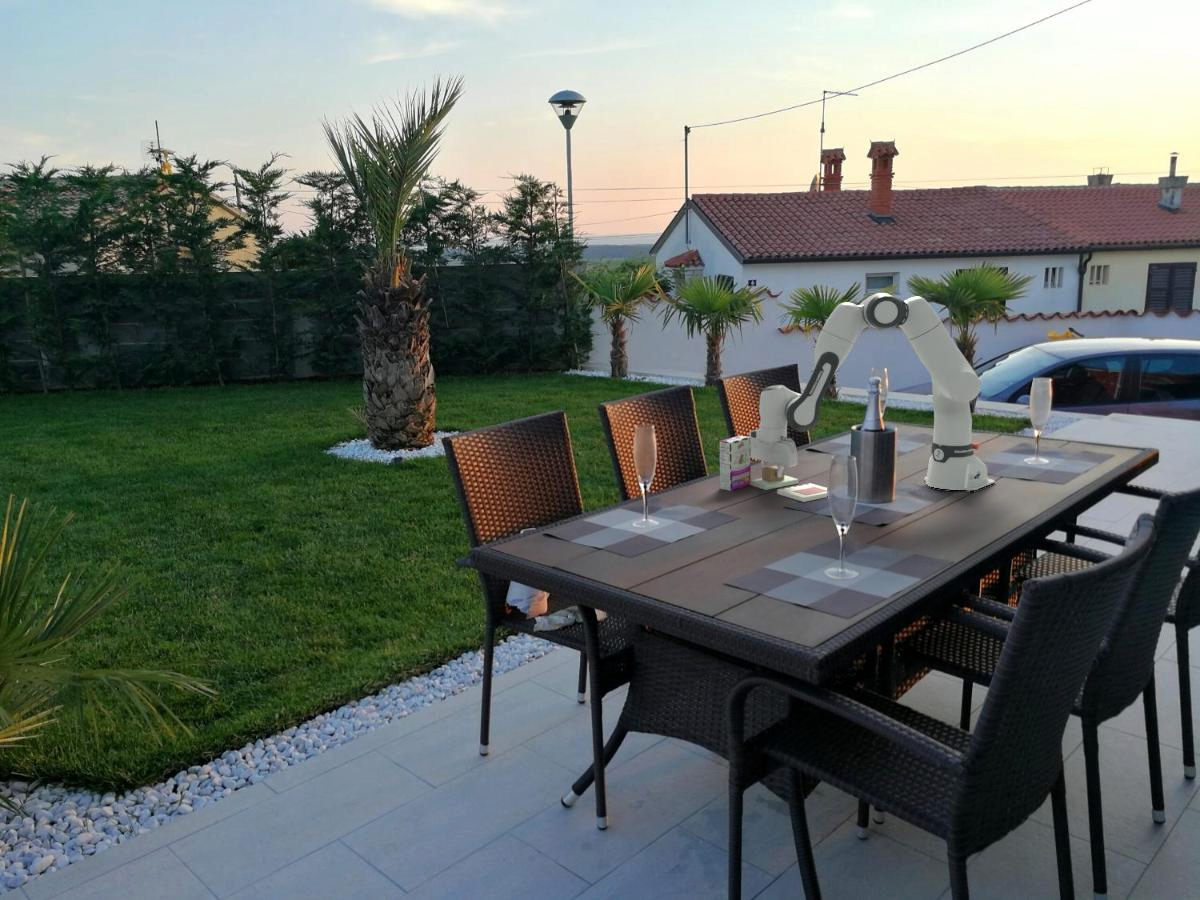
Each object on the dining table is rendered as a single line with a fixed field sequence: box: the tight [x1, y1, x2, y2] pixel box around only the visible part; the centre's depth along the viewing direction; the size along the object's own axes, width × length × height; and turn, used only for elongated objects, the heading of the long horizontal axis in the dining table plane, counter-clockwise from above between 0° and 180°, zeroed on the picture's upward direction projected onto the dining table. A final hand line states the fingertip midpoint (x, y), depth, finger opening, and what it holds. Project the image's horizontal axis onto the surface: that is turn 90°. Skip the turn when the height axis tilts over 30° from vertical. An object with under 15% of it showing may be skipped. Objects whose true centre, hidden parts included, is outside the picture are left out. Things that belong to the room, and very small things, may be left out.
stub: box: [749, 465, 800, 491], centre depth 278 cm, size 14×8×6 cm, turn 119°
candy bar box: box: [718, 435, 752, 492], centre depth 275 cm, size 11×5×16 cm, turn 135°
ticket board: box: [776, 482, 828, 503], centre depth 265 cm, size 14×12×2 cm
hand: (772, 475), depth 278 cm, fingers open, 4 cm apart
